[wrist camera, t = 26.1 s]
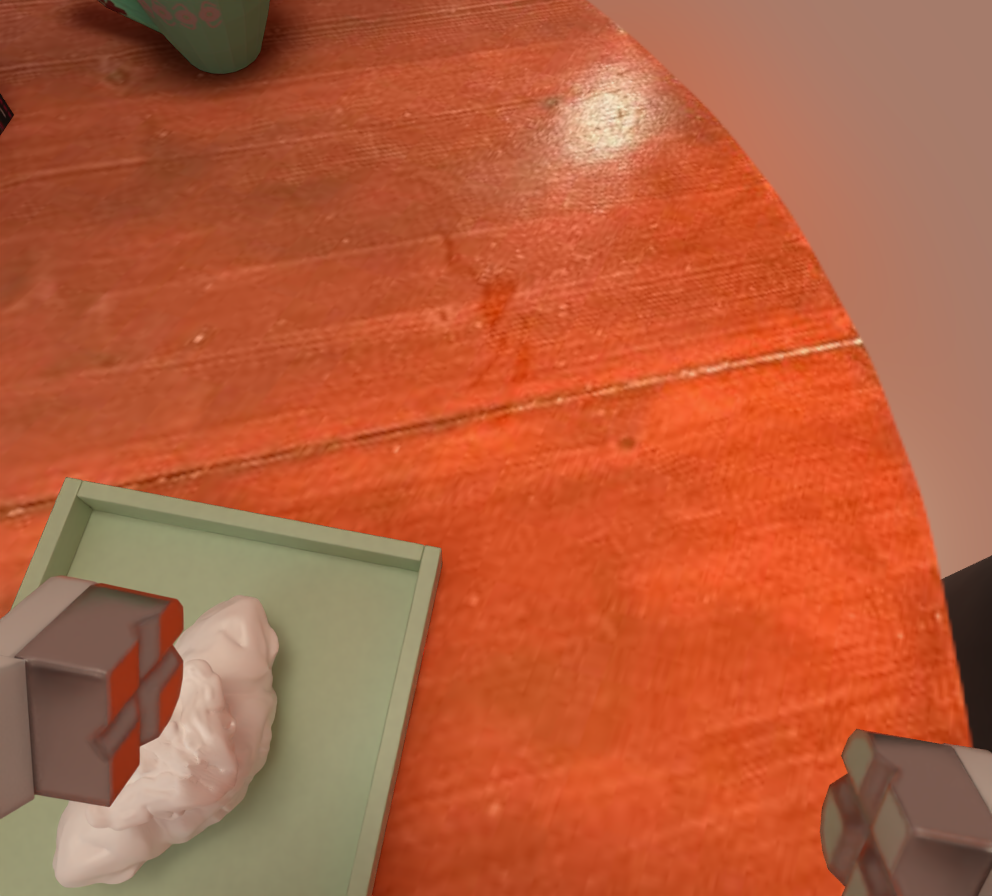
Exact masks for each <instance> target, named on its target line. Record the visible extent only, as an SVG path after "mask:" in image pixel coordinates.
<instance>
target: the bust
mask: <svg viewBox="0 0 992 896" xmlns="http://www.w3.org/2000/svg"><path fill="white" fill-rule="evenodd" d="M174 647H175V649H176V650H177V652H178V653H179V655H180V656H181V658H182V659H183V680H182V686H181V691H180V696H179V699H178V702H177V704H176V707H175V709H174V712H173V714H172V717H171V719H170V721H169V723H168V724H167V726H166V727H165V729H164V730H163V732H162V733H161V735H160V736H159V738H157V739H155V740H152V741H150V742H148V743H146V744H144V745H142V746H140V765H139V766H138V768H137V769H136V771H135V772H134V773H133V775H132V776H131V778H130V779H129V781H128V782H127V783H126V785H125V786H124V788H123V789H122V791H121V792H120V793H119V795H118V796H117V798H116V799H115V800H114V802H113V803H112V805H111V806H110V807H105V806H99V805H93V804H87V803H81V802H75V801H69V802H68V805H67V807H66V808H65V810H64V812H63V813H62V815H61V817H60V821H59V824H58V828H57V836H56V851H55V854H54V857H53V862H52V866H53V869H54V871H55V877H56V879H57V881H58V882H59V883H60V884H61V885H62V886H64V887H66V888H77V887H83V886H88V885H92V884H96V883H105V884H119V883H122V882H124V881H127V880H129V879H130V878H132V877H133V876H134V875H135V873H136V872H137V871H138V870H139V869H140V867H141V866H142V865H143V864H144V863H145V862H146V861H147V860H150V859H153V858H156V857H158V856H159V855H161V854H162V853H163V852H164V851H166V850H167V849H168V848H169V847H170V846H171V845H172V844H181V843H185V842H187V841H189V840H190V839H192V838H193V837H195V836H196V835H198V834H199V833H201V832H202V831H204V830H205V829H206V828H207V827H208V826H210V825H213V824H215V823H217V822H219V821H221V820H222V818H223V817H224V816H225V815H226V814H228V813H229V812H231V811H232V810H233V809H234V808H235V807H236V806H237V805H238V804H239V803H240V802H241V801H242V800H243V799H244V797H245V795H246V792H247V789H248V785H249V783H250V782H251V781H252V780H253V777H254V775H255V774H256V773H258V772H259V771H260V770H261V769H262V767H263V766H264V765H265V763H266V760H267V755H268V752H269V750H270V741H271V739H272V731H271V726H272V724H273V721H274V719H275V714H276V706H277V695H276V692H275V691H274V689H273V687H272V682H273V676H272V665H273V662H274V659H275V657H276V655H277V653H278V649H279V642H278V637H277V635H276V633H275V631H274V630H273V629H272V628H271V627H270V625H269V623H268V620H267V616H266V613H265V611H264V609H263V606H262V604H261V603H260V601H259V600H258V599H257V598H254V597H249V596H242V595H236V596H234V597H232V598H231V599H229V600H228V601H223V602H221V603H219V604H217V605H215V606H214V607H212V608H210V609H209V610H207V611H206V612H205V613H203V614H202V615H201V616H200V617H199V618H198V619H197V620H196V622H195V623H194V624H193V625H192V626H190V627H189V628H188V629H186V630H185V631H184V632H183V633H182V634H181V636H180V637H179V639H178V640H177V642H176V644H175V645H174Z"/></svg>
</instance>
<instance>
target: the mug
mask: <svg viewBox="0 0 992 896" xmlns="http://www.w3.org/2000/svg"><path fill="white" fill-rule="evenodd" d="M98 1H99V2H100V3H101V4H103V5H104V6H105V7H107V8H109V9H111V10H113V11H115V12H117V13H119V14H122V15H124V16H126V17H128V18H130V19H132V20H134V21H136V22H138V23H141V24H143V25H145V26H147V27H149V28H151V29H153V30H155V31H157V32H160V33H162V34H163V35H164V36H165V37H166V38H167V40H168V41H169V42H170V43H171V44H172V45H173V46H174V47H175V48H176V49H177V50H178V51H179V52H180V53H181V54H182V55H183V56H184V57H185V58H186V59H187V60H188V61H189V62H190V63H191V64H192V65H193V66H195V67H196V68H198V69H199V70H202V71H205V72H209V73H216V74H225V73H231V72H236V71H238V70H241V69H243V68H245V67H247V66H248V65H249V64H251V63H252V62H253V61H254V60H255V59H256V58H257V56H258V55H259V53H260V50H261V46H262V41H263V36H264V31H265V26H266V21H267V16H268V10H269V2H270V0H98Z"/></svg>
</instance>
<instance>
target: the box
mask: <svg viewBox="0 0 992 896" xmlns="http://www.w3.org/2000/svg"><path fill="white" fill-rule="evenodd" d="M13 115H14V114H13V113H12V111H11V110H10V108H9V106H8V105H7V103H6V102H5V100H4V99H3V97H2V95H1V94H0V134H1V133H2V131H3V130H4V128H5V127H6V126H7V124H8V123H9V121H10V120H11V118H12V117H13Z"/></svg>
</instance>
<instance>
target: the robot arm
mask: <svg viewBox="0 0 992 896" xmlns="http://www.w3.org/2000/svg"><path fill="white" fill-rule="evenodd" d="M183 630H184V615H183V606H182V604H181V603H180V602H179V600H178V599H175V598H170V597H165V596H161V595H156V594H151V593H147V592H142V591H137V590H132V589H128V588H123V587H118V586H114V585H109V584H104V583H97V582H94V581H89V580H84V579H79V578H73V577H68V576H63V575H61V576H55V577H50V578H49V579H47V580H46V581H45V582H44V583H43V584H42V585H40V586H39V587H38V588H37V589H36V590H34V591H33V592H32V593H31V594H30V595H28V596H27V597H26V598H25V599H24V600H22V601H21V602H20V603H19V604H18V605H17V606H15V607H14V608H13V609H12V610H11V611H9V612H8V613H7V614H6V615H5V616H3V617H2V618H1V619H0V819H2V818H3V817H5V816H7V815H8V814H10V813H12V812H13V811H15V810H17V809H18V808H20V807H22V806H23V805H25V804H27V803H28V802H30V801H32V800H33V799H34V798H35V797H34V795H40V796H46V797H52V798H58V799H63V800H69V801H75V802H81V803H87V804H93V805H99V806H105V807H110V806H111V805H112V803H113V802H114V800H115V799H116V798H117V796H118V795H119V793H120V792H121V791H122V789H123V788H124V786H125V785H126V783H127V782H128V781H129V779H130V778H131V776H132V775H133V773H134V772H135V771H136V769H137V768H138V766H139V765H140V746H142V745H144V744H146V743H148V742H150V741H152V740H155V739H157V738H159V736H160V735H161V733H162V732H163V730H164V729H165V727H166V726H167V724H168V723H169V721H170V719H171V717H172V714H173V712H174V709H175V707H176V704H177V702H178V699H179V696H180V691H181V686H182V680H183V659H182V658H181V656H180V655H179V653H178V652H177V650H176V649H175V647H174V646H173V643H174V642H175V641H176V639H177V638H178V637H179V636H180V634H181V633H182V632H183ZM841 756H842V759H843V761H844V764H845V767H846V769H847V772H848V773H847V774H846V775H844V776H843V777H841V778H840V779H838V780H837V781H835V782H834V783H832V784H831V785H830V786H829V789H828V792H827V794H826V797H825V800H824V803H823V806H822V814H821V826H820V836H821V844H822V851H823V854H824V858H825V861H826V864H827V868H828V870H829V871H830V872H831V873H832V874H833V875H834V876H835V877H836V878H837V879H838V880H839V881H840V882H841V883H842V884H843V885H844V886H845V889H844V891H843V894H842V896H992V753H991V752H989V751H988V750H983V749H976V748H970V747H964V746H957V745H951V744H945V743H944V744H938V743H932V742H927V741H921V740H915V739H910V738H904V737H899V736H893V735H888V734H882V733H877V732H871V731H865V730H860V729H856V730H855V731H854V732H853V733H852V735H851V736H850V737H849V738H848V740H847V743H846V745H845V747H844V750H843V752H842V755H841Z"/></svg>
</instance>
